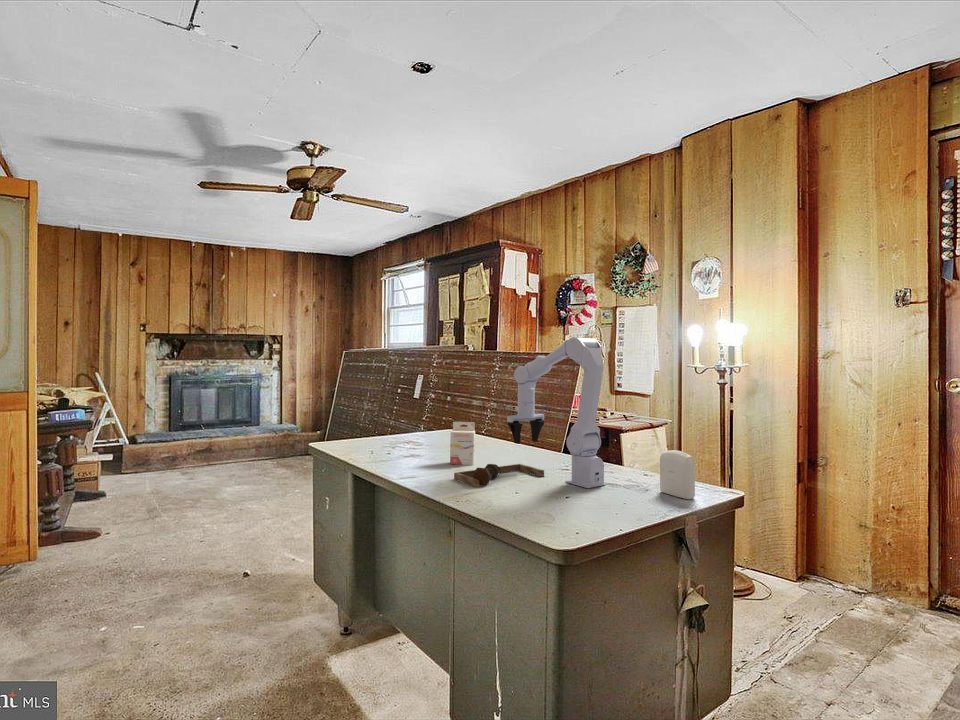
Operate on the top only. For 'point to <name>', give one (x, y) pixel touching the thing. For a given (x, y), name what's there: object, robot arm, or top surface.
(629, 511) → the top surface
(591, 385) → the robot arm
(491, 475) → the bolt
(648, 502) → the top surface
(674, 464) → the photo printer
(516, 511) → the top surface
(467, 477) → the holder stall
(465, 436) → the ink cartridge box
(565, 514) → the top surface
